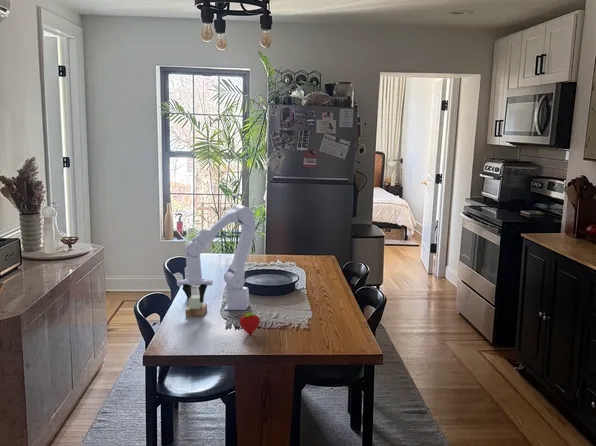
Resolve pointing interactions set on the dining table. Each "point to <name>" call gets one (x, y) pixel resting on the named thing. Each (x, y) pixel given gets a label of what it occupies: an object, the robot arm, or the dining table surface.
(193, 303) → the green cube
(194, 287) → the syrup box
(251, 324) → the strawberry
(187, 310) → the block
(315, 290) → the dining table surface
